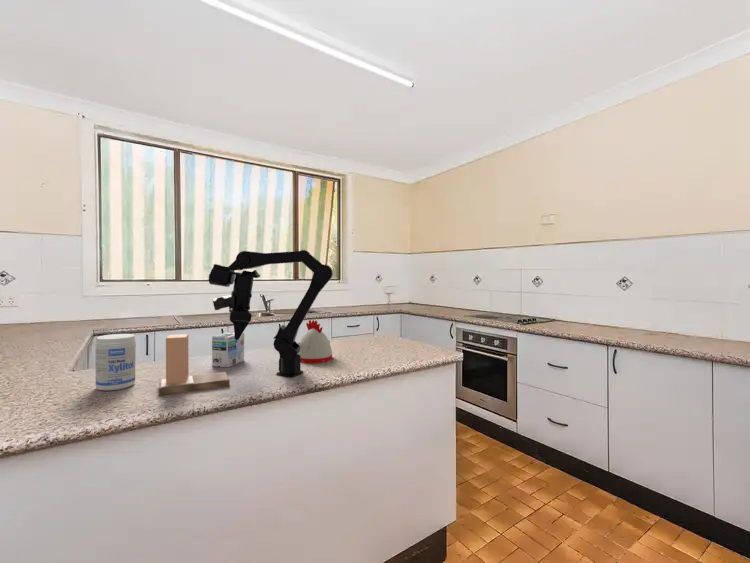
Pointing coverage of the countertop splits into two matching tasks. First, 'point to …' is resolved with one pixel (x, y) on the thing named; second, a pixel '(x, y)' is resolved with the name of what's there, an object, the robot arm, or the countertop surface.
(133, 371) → the supplement tub
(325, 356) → the kitchen timer
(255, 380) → the countertop surface
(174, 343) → the pillar
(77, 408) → the countertop surface
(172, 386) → the base board
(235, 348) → the light bulb box
